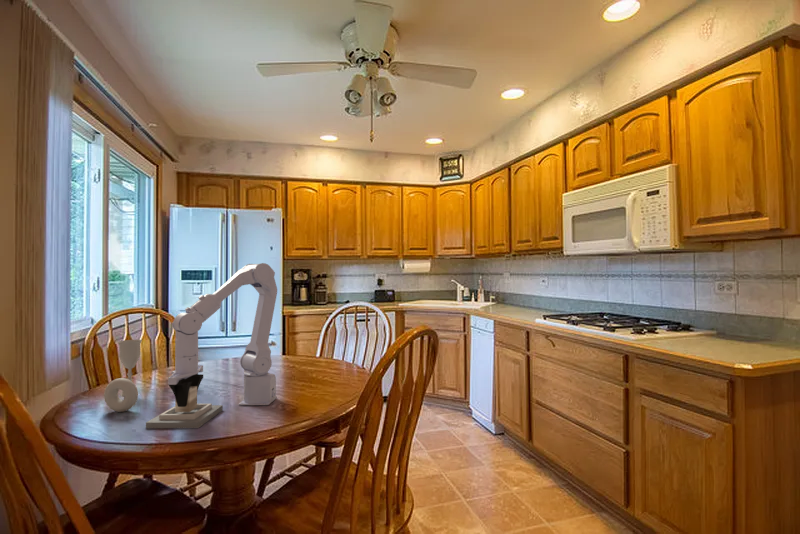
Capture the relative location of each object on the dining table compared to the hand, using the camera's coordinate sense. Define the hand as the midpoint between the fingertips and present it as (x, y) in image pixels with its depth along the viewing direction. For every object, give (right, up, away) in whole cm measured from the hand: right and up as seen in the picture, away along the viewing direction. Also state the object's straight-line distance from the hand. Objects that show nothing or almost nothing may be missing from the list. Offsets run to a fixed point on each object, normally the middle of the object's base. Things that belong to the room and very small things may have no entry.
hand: (186, 403), depth 113 cm
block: (0, -2, 0) cm, 2 cm away
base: (0, -4, 0) cm, 4 cm away
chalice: (-33, -5, +24) cm, 41 cm away
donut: (-23, -5, +6) cm, 24 cm away
